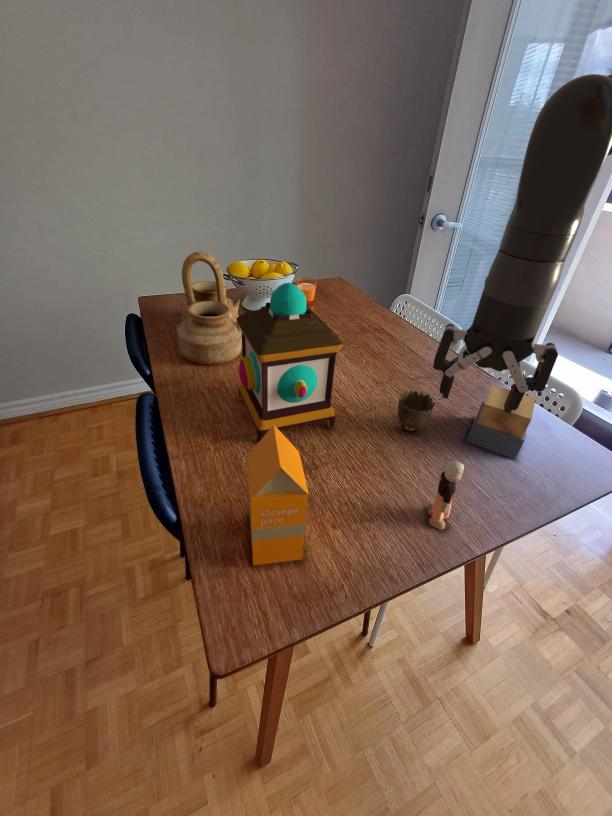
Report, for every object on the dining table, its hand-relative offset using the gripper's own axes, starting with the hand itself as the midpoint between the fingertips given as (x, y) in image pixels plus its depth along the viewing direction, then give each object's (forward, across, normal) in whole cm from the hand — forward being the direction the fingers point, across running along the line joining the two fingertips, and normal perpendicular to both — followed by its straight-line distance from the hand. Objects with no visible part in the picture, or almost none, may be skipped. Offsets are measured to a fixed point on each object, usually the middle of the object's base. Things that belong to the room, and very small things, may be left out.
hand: (475, 402), depth 57 cm
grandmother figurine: (+23, 0, -2) cm, 23 cm away
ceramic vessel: (+23, -69, +40) cm, 83 cm away
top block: (+18, +11, +26) cm, 33 cm away
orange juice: (+23, -24, -16) cm, 37 cm away
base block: (+23, +11, +26) cm, 36 cm away
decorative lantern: (+23, -35, +15) cm, 45 cm away
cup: (+23, -8, +21) cm, 32 cm away
